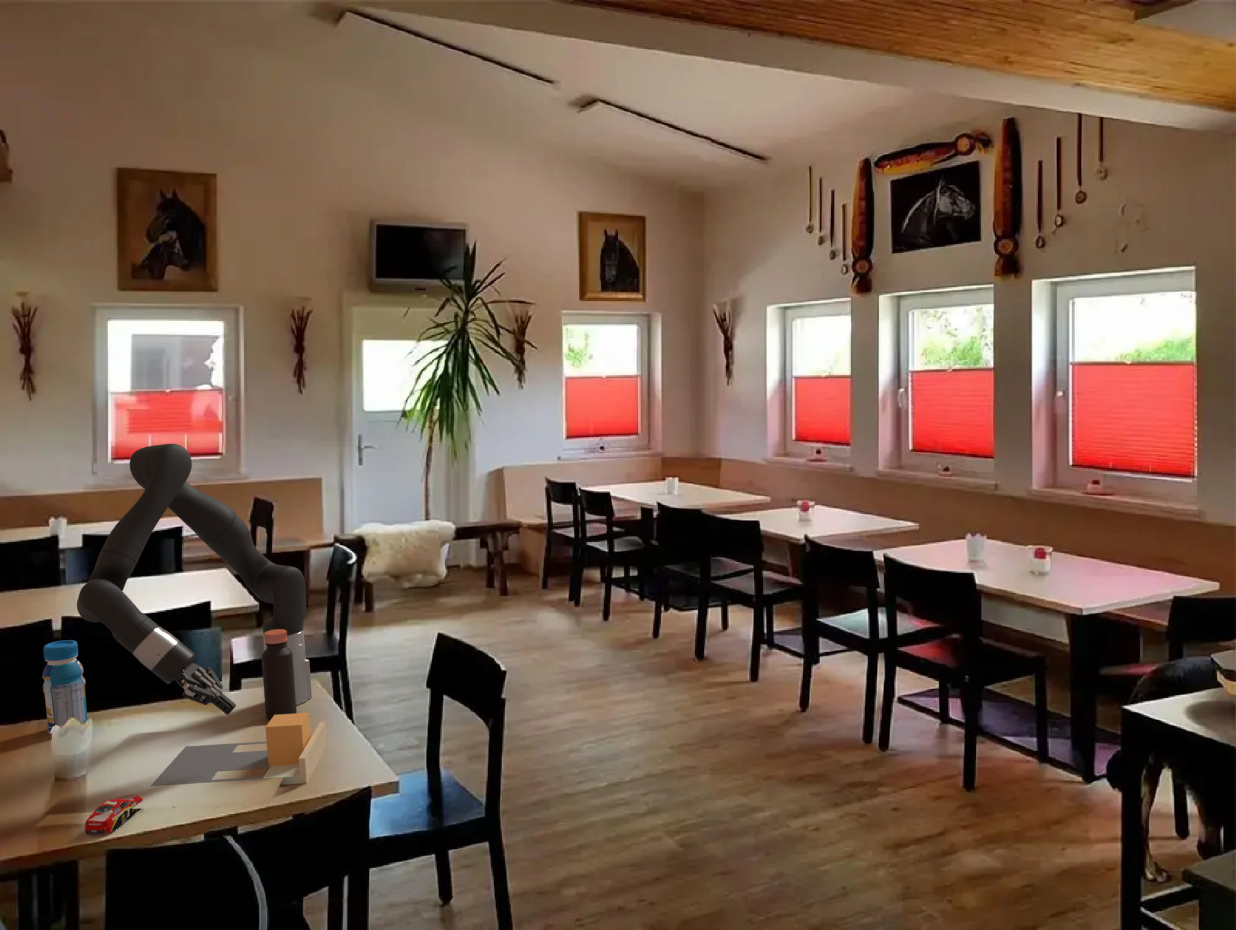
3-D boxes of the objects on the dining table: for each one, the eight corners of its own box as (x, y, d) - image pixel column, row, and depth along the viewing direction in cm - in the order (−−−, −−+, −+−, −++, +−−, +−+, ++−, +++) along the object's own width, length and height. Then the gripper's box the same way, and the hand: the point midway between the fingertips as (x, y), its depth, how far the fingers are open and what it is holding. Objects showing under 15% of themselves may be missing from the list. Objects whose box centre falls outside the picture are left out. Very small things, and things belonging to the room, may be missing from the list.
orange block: (268, 766, 203) (265, 727, 202) (277, 752, 210) (274, 714, 209) (304, 763, 203) (301, 724, 203) (311, 750, 210) (309, 712, 210)
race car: (121, 805, 191) (120, 785, 191) (149, 805, 191) (147, 785, 190) (79, 838, 178) (76, 816, 178) (108, 838, 178) (106, 816, 177)
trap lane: (151, 793, 195) (148, 768, 195) (186, 753, 215) (184, 730, 215) (306, 783, 198) (304, 758, 197) (327, 744, 217) (325, 721, 217)
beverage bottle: (71, 737, 227) (63, 649, 225) (38, 735, 229) (29, 648, 227) (97, 723, 235) (89, 639, 233) (65, 722, 237) (57, 638, 235)
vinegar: (266, 713, 238) (260, 630, 236) (296, 709, 240) (291, 626, 238) (265, 723, 232) (259, 637, 230) (296, 719, 234) (290, 634, 232)
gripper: (165, 650, 196) (235, 708, 198) (187, 631, 209) (253, 686, 211) (138, 679, 196) (209, 736, 198) (163, 658, 209) (229, 712, 212)
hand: (232, 710), depth 205 cm, fingers closed
